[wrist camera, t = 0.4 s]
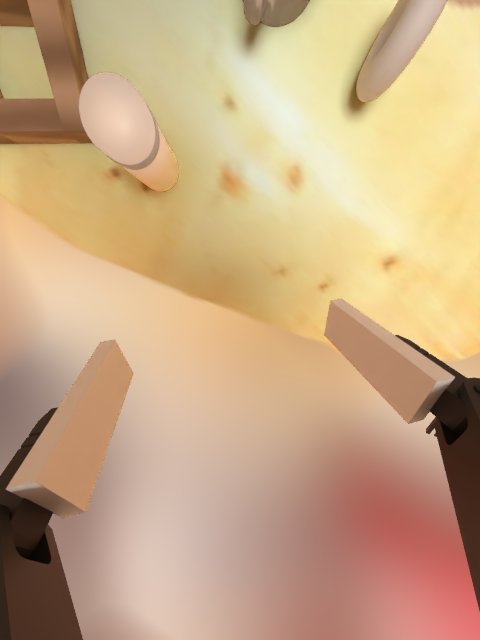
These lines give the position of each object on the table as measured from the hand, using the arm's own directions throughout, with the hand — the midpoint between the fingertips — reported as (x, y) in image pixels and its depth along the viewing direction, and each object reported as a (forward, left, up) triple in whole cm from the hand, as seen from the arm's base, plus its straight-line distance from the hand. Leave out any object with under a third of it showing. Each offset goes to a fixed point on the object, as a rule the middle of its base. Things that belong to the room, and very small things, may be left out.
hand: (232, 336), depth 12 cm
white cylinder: (-16, -9, -24) cm, 31 cm away
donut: (-26, +21, -25) cm, 42 cm away
